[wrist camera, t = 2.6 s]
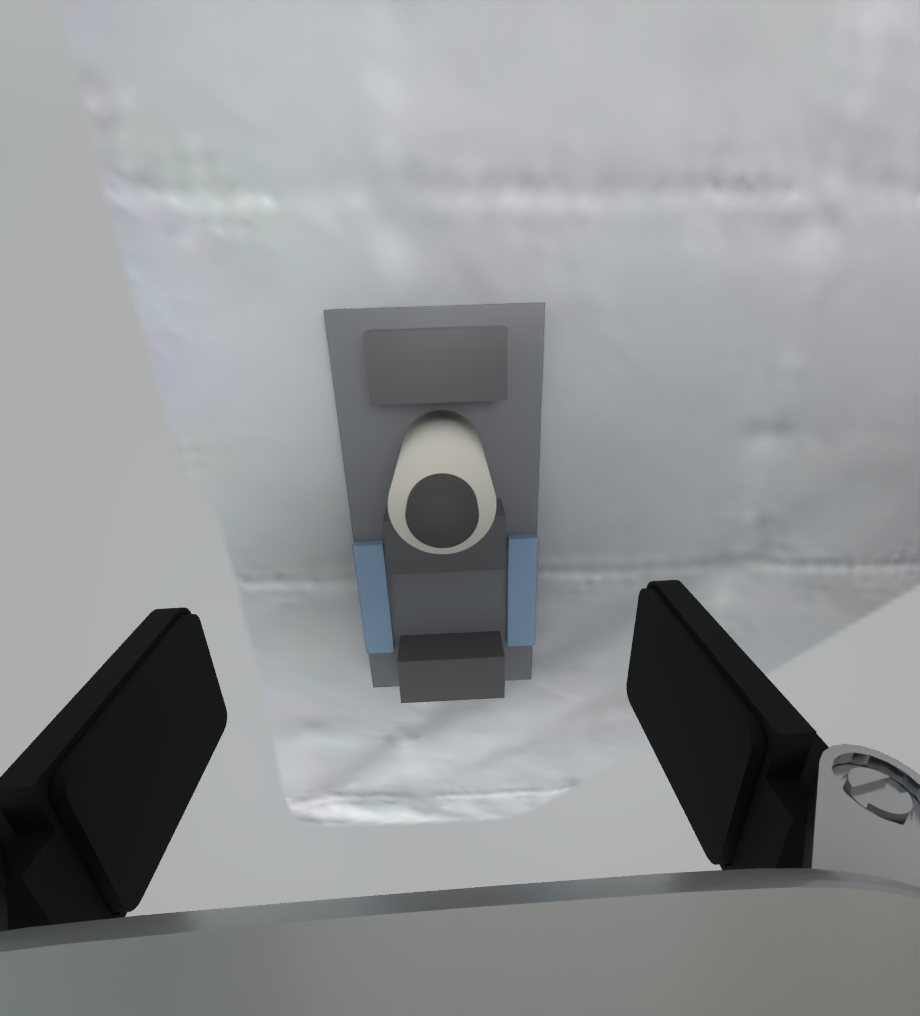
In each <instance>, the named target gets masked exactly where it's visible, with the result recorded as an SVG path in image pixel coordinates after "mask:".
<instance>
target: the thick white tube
mask: <svg viewBox="0 0 920 1016" xmlns="http://www.w3.org/2000/svg"><path fill="white" fill-rule="evenodd" d="M388 513H389V517H390V520H391V523H392V525H393V527H394V529H395V530H396V532H397V533H398V534H399V535H400V536H401V538H402V539H403V540H405V541H406V542H407V543H408V544H410V545H411V546H413V547H415V548H417V549H419V550H421V551H425V552H428V553H433V554H451V553H456V552H460V551H463V550H465V549H467V548H469V547H471V546H473V545H474V544H476V543H477V542H478V541H479V540H481V539H482V538H483V537H484V535H485V534H486V533H487V532H488V530H489V529H490V527H491V525H492V523H493V521H494V517H495V514H496V495H495V491H494V487H493V484H492V480H491V476H490V473H489V469H488V465H487V462H486V458H485V454H484V451H483V447H482V443H481V440H480V436H479V434H478V431H477V430H476V428H475V426H474V425H473V424H472V423H471V422H470V421H469V420H468V419H467V418H465V417H464V416H462V415H460V414H458V413H456V412H453V411H448V410H436V411H431V412H428V413H425V414H423V415H421V416H420V417H418V418H417V419H416V420H415V421H414V422H413V423H412V424H411V425H410V426H409V428H408V429H407V431H406V433H405V436H404V439H403V443H402V447H401V450H400V454H399V458H398V461H397V465H396V469H395V473H394V476H393V480H392V484H391V487H390V491H389V496H388Z"/></svg>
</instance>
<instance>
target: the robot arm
mask: <svg viewBox="0 0 920 1016" xmlns="http://www.w3.org/2000/svg"><path fill="white" fill-rule="evenodd" d="M627 695H628V699H629V702H630V704H631V706H632V708H633V710H634V712H635V714H636V716H637V718H638V720H639V722H640V724H641V726H642V728H643V730H644V732H645V734H646V736H647V738H648V740H649V742H650V744H651V746H652V748H653V750H654V752H655V754H656V756H657V758H658V760H659V762H660V764H661V766H662V768H663V770H664V772H665V774H666V776H667V778H668V780H669V782H670V784H671V786H672V788H673V790H674V792H675V794H676V796H677V798H678V800H679V802H680V804H681V806H682V808H683V810H684V812H685V814H686V816H687V818H688V820H689V822H690V824H691V826H692V828H693V830H694V832H695V834H696V836H697V838H698V840H699V842H700V844H701V846H702V848H703V850H704V852H705V854H706V856H707V857H708V859H709V860H710V861H711V863H713V864H720V866H721V868H722V870H719V871H701V872H682V873H666V874H665V873H664V874H650V875H636V876H623V877H609V878H596V879H582V880H570V881H556V882H542V883H529V884H515V885H502V886H489V887H477V888H464V889H453V890H452V889H451V890H439V891H426V892H414V893H403V894H402V893H401V894H389V895H378V896H365V897H352V898H341V899H327V900H316V901H303V902H291V903H280V904H268V905H257V906H246V907H234V908H223V909H211V910H199V911H188V912H176V913H165V914H153V915H141V916H131V917H125V916H126V914H127V912H130V911H132V910H134V909H135V908H136V907H137V906H138V904H139V903H140V901H141V899H142V897H143V895H144V893H145V891H146V889H147V887H148V885H149V883H150V881H151V879H152V877H153V875H154V873H155V871H156V869H157V867H158V865H159V863H160V860H161V859H162V856H163V854H164V852H165V850H166V848H167V846H168V844H169V842H170V840H171V838H172V836H173V834H174V832H175V830H176V828H177V826H178V824H179V821H180V820H181V818H182V816H183V814H184V811H185V809H186V807H187V805H188V803H189V801H190V799H191V797H192V795H193V793H194V791H195V789H196V787H197V785H198V782H199V781H200V779H201V777H202V774H203V772H204V771H205V768H206V766H207V764H208V762H209V760H210V758H211V756H212V754H213V752H214V750H215V748H216V746H217V744H218V742H219V740H220V737H221V736H222V734H223V732H224V729H225V727H226V722H227V710H226V707H225V703H224V700H223V696H222V693H221V690H220V686H219V683H218V679H217V676H216V673H215V669H214V666H213V662H212V659H211V656H210V652H209V649H208V645H207V642H206V639H205V635H204V632H203V629H202V625H201V622H200V619H199V617H198V616H197V615H196V614H191V612H190V611H189V610H188V609H187V608H169V609H156V610H154V611H153V612H151V613H150V614H149V616H148V617H146V619H145V620H144V621H143V622H142V623H141V624H140V625H139V626H138V627H137V628H136V630H135V631H134V632H133V633H132V634H131V635H130V636H129V637H128V638H127V639H126V640H125V642H124V643H123V644H122V645H121V646H120V647H119V648H118V650H116V652H115V653H114V654H113V655H112V656H111V657H110V658H109V659H108V660H107V661H106V662H105V663H104V664H103V666H102V667H101V668H100V669H99V670H98V671H97V672H96V674H94V675H93V677H92V678H91V679H90V680H89V681H88V682H87V683H86V684H85V685H84V686H83V687H82V689H81V690H80V691H79V692H78V693H77V694H76V695H75V696H74V697H73V698H72V700H71V701H70V702H69V703H68V704H67V705H66V706H65V707H64V708H63V709H62V710H61V712H60V713H59V714H58V715H57V716H56V717H55V718H54V719H53V720H52V721H51V722H50V724H49V725H48V726H47V727H46V728H45V729H44V730H43V731H42V732H41V733H40V735H39V736H38V737H37V738H36V739H35V740H34V741H33V742H32V743H31V745H29V747H28V748H27V749H26V750H25V751H24V752H23V753H22V754H21V755H20V756H19V757H18V759H17V760H16V761H15V762H14V763H13V764H12V765H11V766H10V767H9V768H8V770H7V771H6V772H5V773H4V774H3V775H2V776H1V777H0V1016H920V775H919V774H917V772H915V771H913V770H912V769H910V768H909V767H907V766H906V765H904V764H903V763H901V762H899V761H898V760H896V759H894V758H892V757H890V756H888V755H885V754H883V753H881V752H879V751H876V750H873V749H869V748H866V747H862V746H857V745H848V744H842V745H836V746H831V747H828V746H827V745H826V744H825V743H824V742H823V740H822V739H821V738H820V737H819V736H818V735H817V734H816V731H815V730H814V729H813V728H812V727H811V726H810V725H809V723H808V722H807V721H806V720H805V719H804V718H803V717H802V716H801V714H800V713H799V712H798V711H797V710H796V709H795V708H794V707H793V706H792V704H791V703H790V702H789V701H788V700H787V699H786V698H785V697H784V696H783V695H782V693H781V692H780V691H779V690H778V689H777V688H776V687H775V686H774V685H773V684H772V682H771V681H770V680H769V679H768V678H767V677H766V676H765V675H764V673H763V672H762V671H761V670H760V669H759V668H758V667H757V666H756V665H755V664H754V662H753V661H752V660H751V659H750V658H749V657H748V656H747V655H746V654H745V652H744V651H743V650H742V649H741V648H740V647H739V646H738V645H737V644H736V642H735V641H734V640H733V639H732V638H731V637H730V636H729V635H728V634H727V633H726V631H725V630H724V629H723V628H722V627H721V626H720V625H719V624H718V623H717V621H716V620H715V619H714V618H713V617H712V616H711V615H710V614H709V613H708V612H707V610H706V609H705V608H704V607H703V606H702V605H701V604H700V603H699V602H698V600H697V599H696V598H695V597H694V596H693V595H692V594H691V593H690V592H689V591H688V589H687V588H686V587H685V586H684V585H683V584H682V583H681V582H680V581H678V580H667V581H651V582H650V583H649V584H648V585H647V588H645V589H641V591H640V593H639V598H638V606H637V613H636V620H635V627H634V635H633V642H632V649H631V656H630V664H629V671H628V678H627Z"/></svg>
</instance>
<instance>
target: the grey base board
mask: <svg viewBox="0 0 920 1016" xmlns="http://www.w3.org/2000/svg"><path fill="white" fill-rule="evenodd" d="M324 317H325V325H326V332H327V340H328V347H329V355H330V362H331V370H332V378H333V385H334V393H335V400H336V408H337V415H338V423H339V431H340V438H341V446H342V453H343V461H344V469H345V476H346V484H347V491H348V499H349V506H350V514H351V522H352V529H353V537H354V544H353V553H354V560H355V568H356V575H357V583H358V590H359V597H360V605H361V612H362V620H363V627H364V635H365V642H366V650H367V654H368V653H369V658H370V666H371V673H372V681H373V687H391V686H400V695H401V703H411V702H430V701H450V700H469V699H488V698H504V687H505V681H508V680H528V679H531V670H532V645H534V636H535V610H536V585H537V559H538V536H537V510H538V484H539V457H540V430H541V404H542V377H543V350H544V324H545V303H516V304H485V305H454V306H424V307H393V308H362V309H331V310H324ZM436 410H448V411H453V412H456V413H458V414H460V415H462V416H464V417H465V418H467V419H468V420H469V421H470V422H471V423H472V424H473V425H474V426H475V428H476V430H477V431H478V434H479V436H480V440H481V443H482V447H483V451H484V454H485V458H486V462H487V465H488V469H489V473H490V476H491V480H492V484H493V487H494V491H495V495H496V514H495V517H494V521H493V523H492V525H491V527H490V529H489V530H488V532H487V533H486V534H485V535H484V537H483V538H482V539H481V540H479V541H478V542H477V543H476V544H474V545H473V546H471V547H469V548H467V549H465V550H463V551H460V552H456V553H451V554H433V553H428V552H425V551H421V550H419V549H417V548H415V547H413V546H411V545H410V544H408V543H407V542H406V541H405V540H403V539H402V538H401V536H400V535H399V534H398V533H397V532H396V530H395V529H394V527H393V525H392V523H391V520H390V517H389V513H388V496H389V491H390V487H391V484H392V480H393V476H394V473H395V469H396V465H397V461H398V458H399V454H400V450H401V447H402V443H403V439H404V436H405V433H406V431H407V429H408V428H409V426H410V425H411V424H412V423H413V422H414V421H415V420H416V419H417V418H418V417H420V416H421V415H423V414H425V413H428V412H431V411H436Z"/></svg>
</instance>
